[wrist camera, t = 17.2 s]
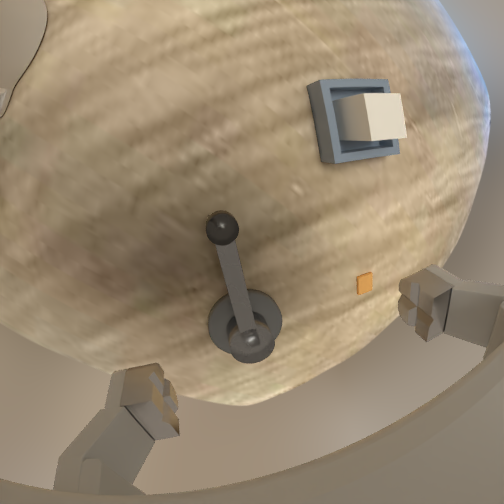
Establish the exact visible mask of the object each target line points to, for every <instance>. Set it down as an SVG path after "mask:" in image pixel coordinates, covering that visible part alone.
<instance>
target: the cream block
mask: <svg viewBox="0 0 504 504" xmlns="http://www.w3.org/2000/svg"><path fill="white" fill-rule="evenodd" d="M332 103H333V108H334V113H335V119H336V124H337V130H338V135H339V140H351V141H377V140H387V139H398V138H407V134H406V127H405V120H404V113H403V107H402V102H401V96H400V94H399V93H362V94H358V95H354V96H350V97H345V98H341V99H337V100H334V101H332Z"/></svg>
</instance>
